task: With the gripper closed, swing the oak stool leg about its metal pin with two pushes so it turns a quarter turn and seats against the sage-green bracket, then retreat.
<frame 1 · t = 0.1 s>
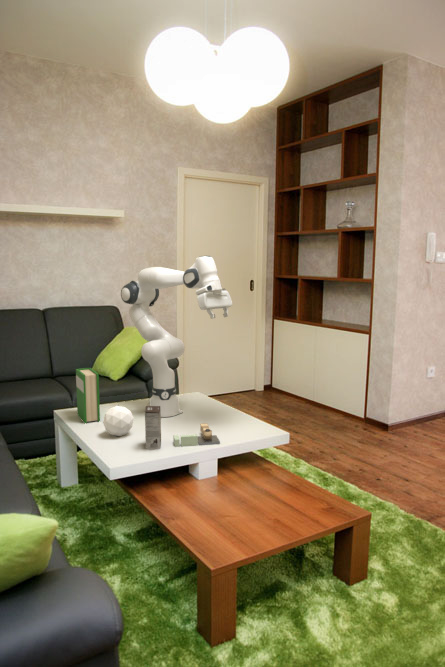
hand: (219, 317, 244), 52 cm above the table, tool tilted 20°, fingers open, 8 cm apart
seat bracket: (185, 443, 226), on the table
geodesic sphere: (118, 435, 239), on the table
pin plate: (207, 441, 229), on the table
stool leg: (205, 430, 234), point 3 cm above the table, hinge at 0.0°
coffee box: (153, 445, 224), on the table
hardback book: (88, 418, 266), on the table
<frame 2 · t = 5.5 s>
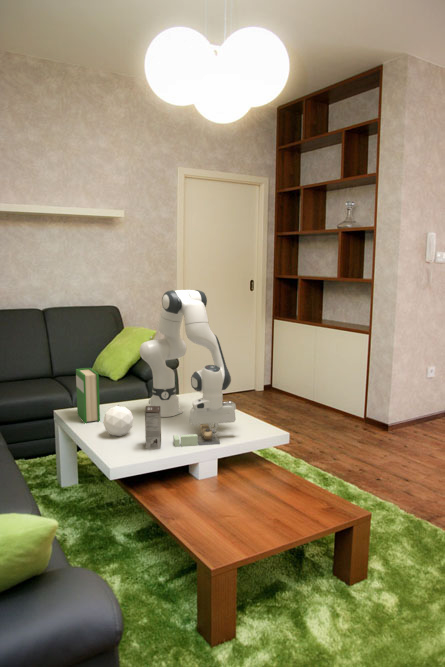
hand: (212, 432, 234), 2 cm above the table, tool pointing down, fingers closed
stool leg: (205, 430, 234), point 3 cm above the table, hinge at 0.1°, touching gripper
everything else where it was.
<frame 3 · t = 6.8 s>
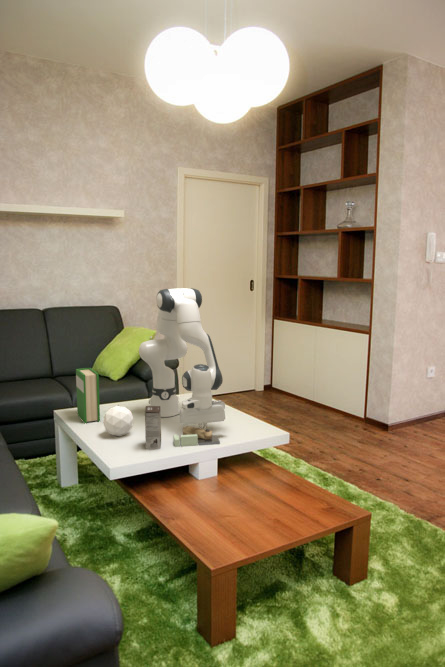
hand: (202, 432, 233), 2 cm above the table, tool pointing down, fingers closed, pressing on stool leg
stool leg: (197, 432, 231), point 3 cm above the table, hinge at 48.4°, touching gripper
everything else where it was.
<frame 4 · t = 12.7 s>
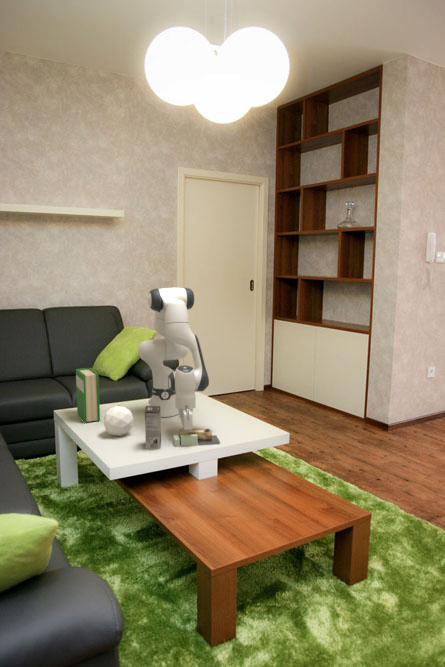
hand: (185, 434, 232), 2 cm above the table, tool pointing down, fingers closed
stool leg: (195, 433, 229), point 3 cm above the table, hinge at 79.3°, touching gripper
everything else where it was.
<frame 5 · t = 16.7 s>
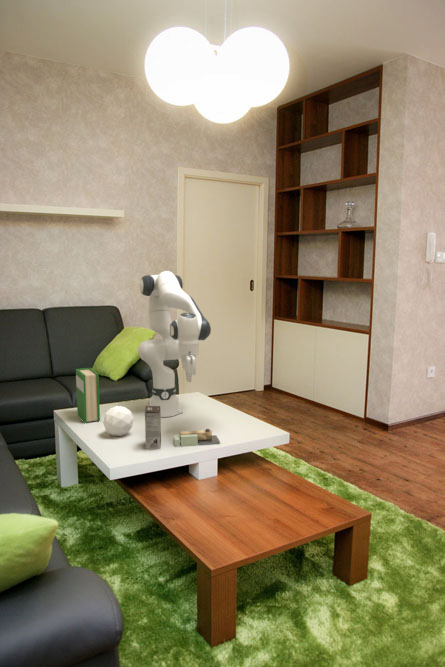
hand: (188, 381, 233), 25 cm above the table, tool pointing down, fingers closed
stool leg: (196, 434, 228), point 3 cm above the table, hinge at 91.4°
everything else where it was.
at the end: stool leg at +91° (first picture: +0°) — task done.
